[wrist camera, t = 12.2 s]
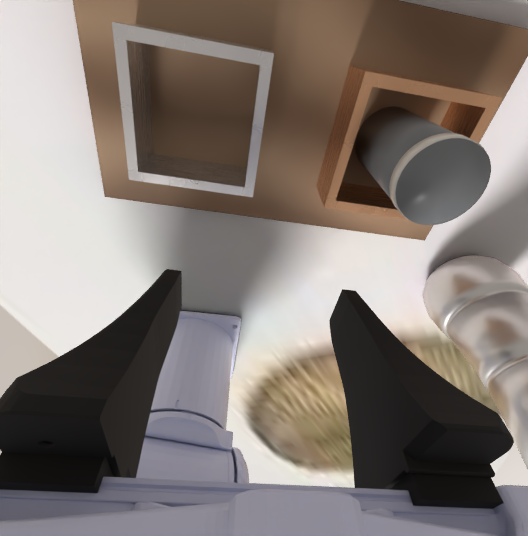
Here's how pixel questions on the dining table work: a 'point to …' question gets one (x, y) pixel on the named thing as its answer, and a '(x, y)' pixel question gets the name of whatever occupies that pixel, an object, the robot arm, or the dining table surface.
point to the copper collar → (349, 118)
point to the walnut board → (282, 92)
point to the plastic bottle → (487, 330)
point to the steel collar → (140, 113)
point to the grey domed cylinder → (422, 165)
